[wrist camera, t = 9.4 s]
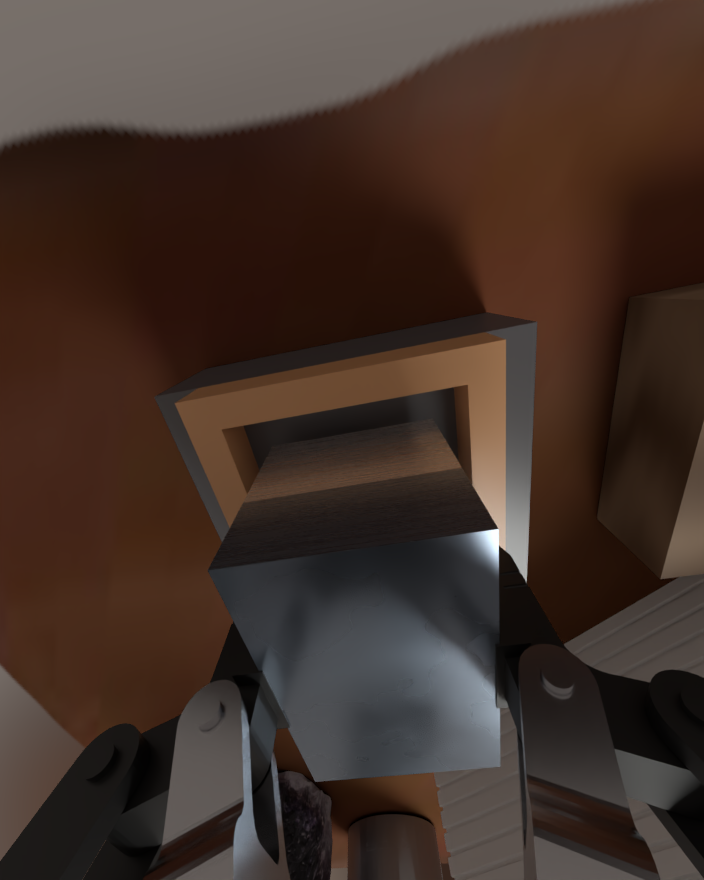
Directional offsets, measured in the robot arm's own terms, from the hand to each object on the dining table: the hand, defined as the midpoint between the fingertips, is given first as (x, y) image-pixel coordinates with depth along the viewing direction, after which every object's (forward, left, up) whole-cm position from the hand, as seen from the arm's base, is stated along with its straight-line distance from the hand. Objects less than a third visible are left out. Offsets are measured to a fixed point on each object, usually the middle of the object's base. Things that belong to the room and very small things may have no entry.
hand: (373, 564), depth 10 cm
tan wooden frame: (0, 0, -6) cm, 6 cm away
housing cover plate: (0, 0, +2) cm, 2 cm away
